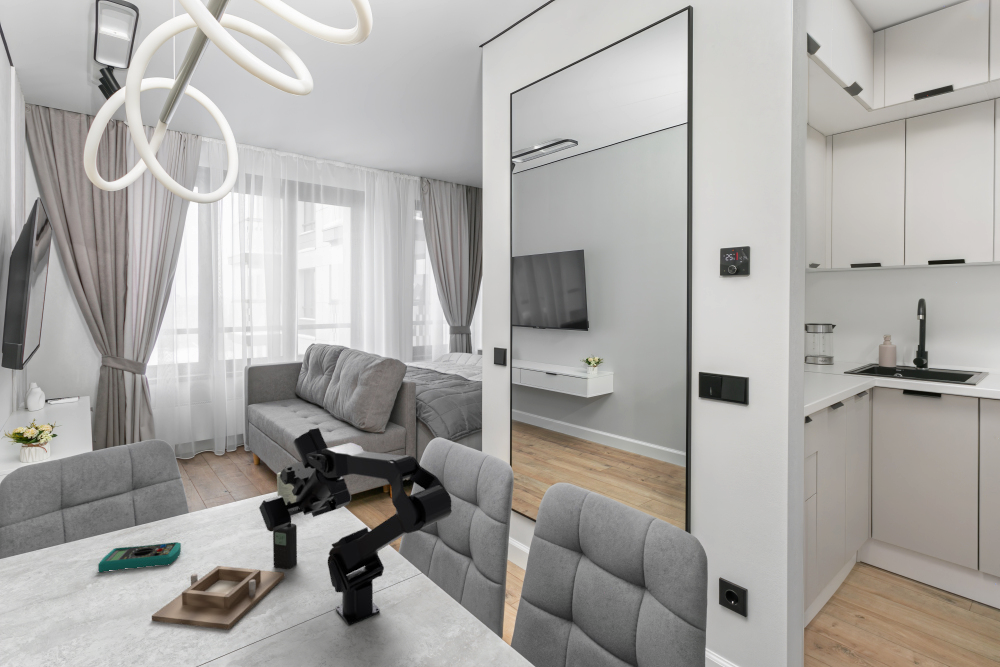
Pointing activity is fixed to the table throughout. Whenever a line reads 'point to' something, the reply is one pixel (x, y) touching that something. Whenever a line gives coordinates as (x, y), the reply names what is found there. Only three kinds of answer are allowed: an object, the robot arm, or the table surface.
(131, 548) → the digital multimeter
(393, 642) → the table surface
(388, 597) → the table surface
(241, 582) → the wooden frame board
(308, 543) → the table surface
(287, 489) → the skincare box
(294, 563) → the walkie-talkie
